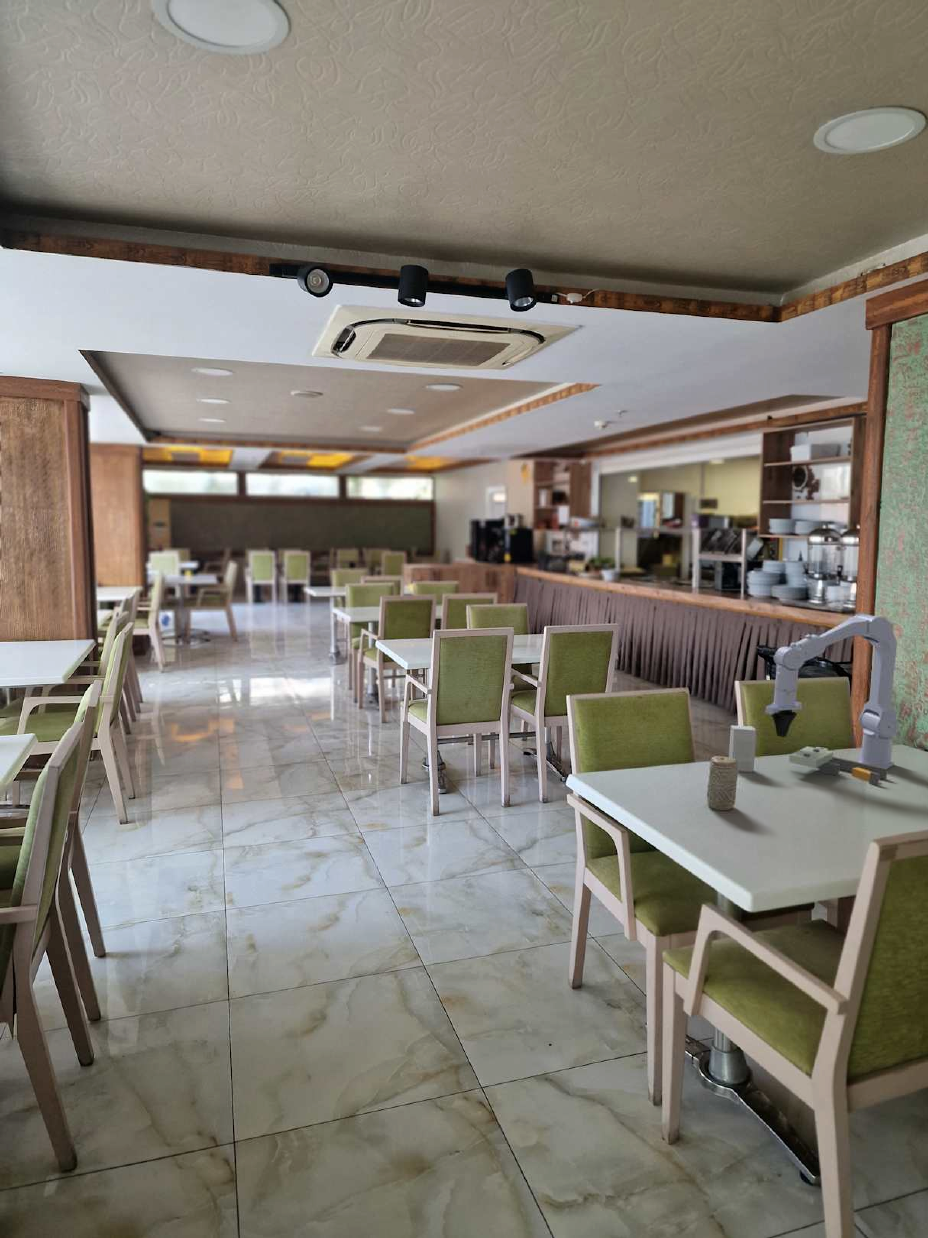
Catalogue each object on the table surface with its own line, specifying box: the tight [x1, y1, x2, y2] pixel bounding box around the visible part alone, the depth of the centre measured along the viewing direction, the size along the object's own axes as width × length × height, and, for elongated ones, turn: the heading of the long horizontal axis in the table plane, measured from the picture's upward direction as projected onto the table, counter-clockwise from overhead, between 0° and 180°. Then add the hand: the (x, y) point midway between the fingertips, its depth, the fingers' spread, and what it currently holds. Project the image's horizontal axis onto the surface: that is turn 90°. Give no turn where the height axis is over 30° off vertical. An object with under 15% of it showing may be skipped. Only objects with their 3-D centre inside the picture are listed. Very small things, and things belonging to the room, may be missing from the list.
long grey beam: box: [818, 756, 888, 786], centre depth 212 cm, size 8×15×3 cm, turn 46°
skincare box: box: [728, 725, 757, 773], centre depth 213 cm, size 6×4×12 cm
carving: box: [706, 755, 739, 811], centre depth 182 cm, size 6×8×12 cm
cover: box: [788, 746, 834, 769], centre depth 213 cm, size 7×15×6 cm, turn 136°
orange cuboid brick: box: [851, 767, 871, 783], centre depth 209 cm, size 2×5×2 cm, turn 26°
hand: (781, 736), depth 219 cm, fingers closed
